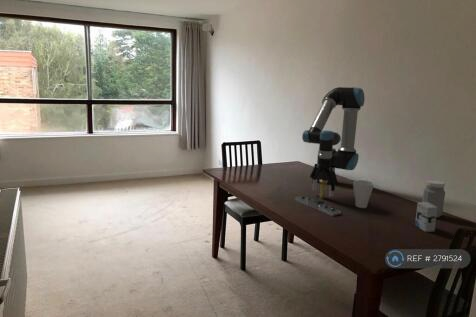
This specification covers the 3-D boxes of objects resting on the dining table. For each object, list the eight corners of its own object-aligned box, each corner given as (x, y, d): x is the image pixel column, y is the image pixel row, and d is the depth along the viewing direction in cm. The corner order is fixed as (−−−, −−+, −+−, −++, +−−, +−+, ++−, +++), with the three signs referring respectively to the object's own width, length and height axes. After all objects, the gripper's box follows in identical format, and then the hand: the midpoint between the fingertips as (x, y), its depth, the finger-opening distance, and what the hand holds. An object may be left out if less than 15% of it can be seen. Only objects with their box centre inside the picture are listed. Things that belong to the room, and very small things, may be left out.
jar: (417, 211, 192) (421, 179, 189) (435, 212, 192) (440, 179, 188) (426, 218, 183) (430, 184, 179) (445, 218, 182) (450, 184, 179)
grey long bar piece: (294, 200, 206) (295, 194, 205) (303, 198, 209) (303, 192, 208) (331, 216, 182) (332, 209, 181) (340, 213, 185) (341, 207, 185)
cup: (361, 210, 191) (363, 186, 189) (347, 204, 200) (349, 181, 198) (375, 207, 196) (377, 184, 193) (360, 202, 205) (363, 179, 203)
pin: (322, 196, 214) (323, 178, 212) (328, 198, 210) (329, 180, 208) (316, 197, 212) (317, 179, 210) (322, 199, 208) (323, 181, 206)
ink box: (414, 224, 173) (417, 201, 170) (423, 224, 173) (427, 201, 171) (424, 231, 164) (428, 207, 162) (434, 231, 165) (438, 207, 163)
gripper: (305, 154, 215) (303, 188, 219) (336, 162, 194) (333, 199, 198) (314, 153, 219) (312, 186, 223) (346, 161, 198) (343, 197, 202)
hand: (322, 192), depth 210 cm, fingers open, 13 cm apart
